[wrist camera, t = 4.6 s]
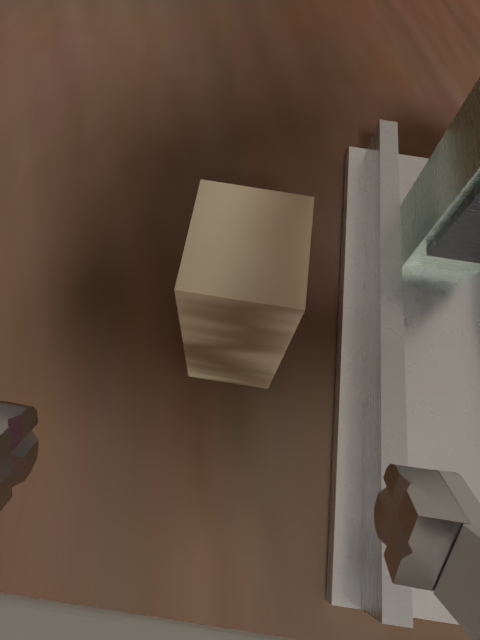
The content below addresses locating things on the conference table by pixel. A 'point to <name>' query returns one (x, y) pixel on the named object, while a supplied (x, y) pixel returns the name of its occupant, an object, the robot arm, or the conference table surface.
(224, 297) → the wooden block
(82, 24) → the conference table surface
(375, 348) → the rail
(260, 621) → the conference table surface
